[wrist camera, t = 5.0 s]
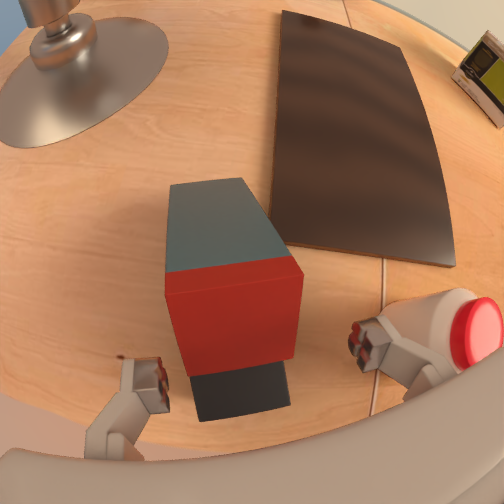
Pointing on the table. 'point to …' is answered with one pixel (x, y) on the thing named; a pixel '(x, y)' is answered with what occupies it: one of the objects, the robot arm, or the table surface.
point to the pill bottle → (450, 324)
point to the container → (228, 279)
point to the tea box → (485, 76)
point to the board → (354, 149)
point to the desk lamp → (76, 72)
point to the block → (240, 391)
